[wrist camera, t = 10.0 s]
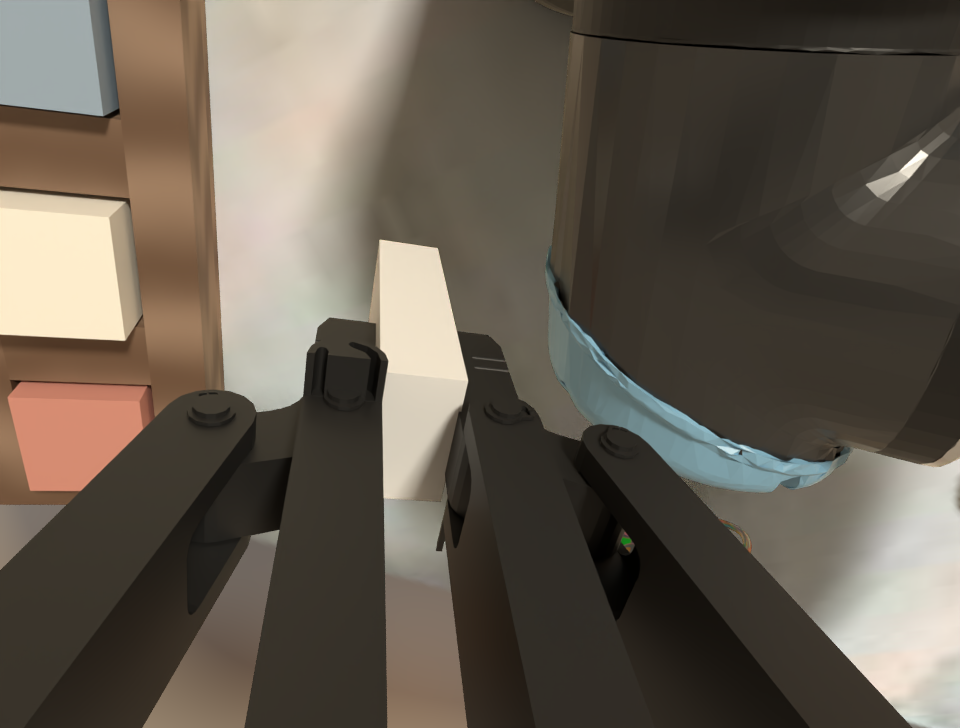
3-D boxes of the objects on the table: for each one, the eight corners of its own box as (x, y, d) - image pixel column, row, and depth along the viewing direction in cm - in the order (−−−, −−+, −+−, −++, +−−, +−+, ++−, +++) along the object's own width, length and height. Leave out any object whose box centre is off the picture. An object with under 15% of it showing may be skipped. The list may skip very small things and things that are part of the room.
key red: (41, 357, 35) (7, 397, 32) (159, 362, 37) (139, 401, 33) (59, 445, 38) (30, 490, 35) (168, 447, 39) (150, 491, 36)
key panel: (-119, -148, 26) (-212, -174, 22) (200, -89, 29) (172, -102, 24) (24, 449, 40) (-15, 504, 36) (227, 453, 43) (213, 504, 39)
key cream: (-6, 178, 30) (-52, 203, 26) (136, 192, 31) (109, 217, 28) (20, 297, 33) (-20, 333, 29) (148, 305, 34) (125, 340, 31)
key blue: (-49, -79, 26) (-111, -88, 22) (116, -51, 27) (81, -56, 24) (-16, 83, 29) (-66, 96, 25) (132, 101, 30) (103, 116, 26)
